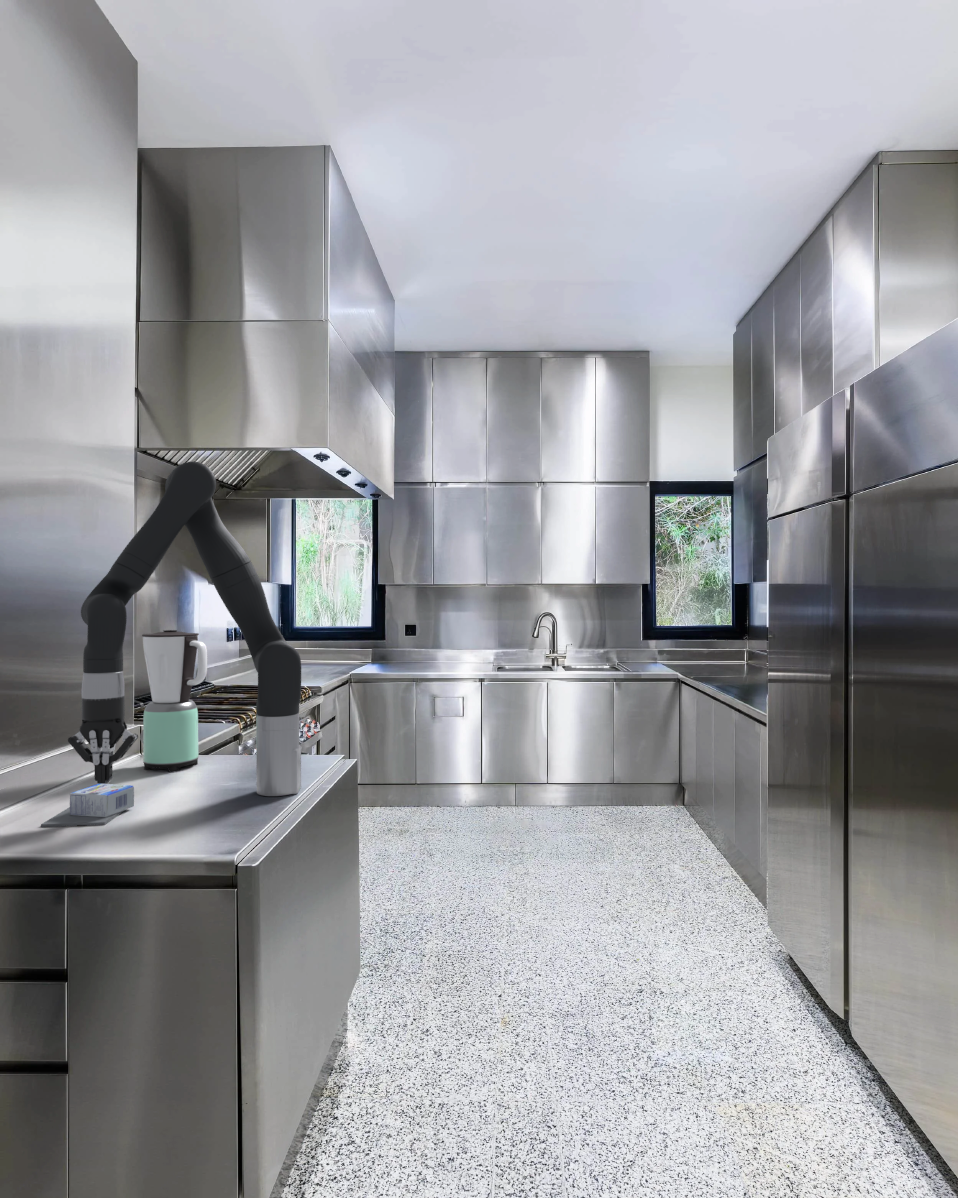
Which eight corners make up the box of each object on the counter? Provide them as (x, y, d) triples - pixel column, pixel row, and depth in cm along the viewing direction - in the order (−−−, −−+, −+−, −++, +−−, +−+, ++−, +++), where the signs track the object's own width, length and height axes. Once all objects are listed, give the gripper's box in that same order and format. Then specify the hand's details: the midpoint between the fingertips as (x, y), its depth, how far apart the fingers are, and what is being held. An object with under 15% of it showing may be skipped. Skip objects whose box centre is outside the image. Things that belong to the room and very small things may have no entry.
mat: (129, 807, 150) (129, 804, 150) (104, 825, 138) (104, 822, 138) (70, 809, 149) (70, 806, 149) (40, 827, 137) (40, 824, 137)
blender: (124, 770, 183) (124, 631, 183) (162, 759, 196) (161, 629, 196) (188, 775, 177) (187, 631, 177) (222, 763, 190) (222, 629, 190)
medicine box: (107, 795, 141) (68, 792, 142) (107, 818, 141) (68, 815, 142) (134, 785, 148) (98, 782, 150) (134, 807, 148) (97, 804, 150)
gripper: (145, 692, 148) (145, 777, 148) (76, 693, 147) (76, 779, 147) (131, 696, 140) (131, 786, 140) (59, 697, 139) (59, 788, 139)
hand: (103, 782), depth 143 cm, fingers closed
